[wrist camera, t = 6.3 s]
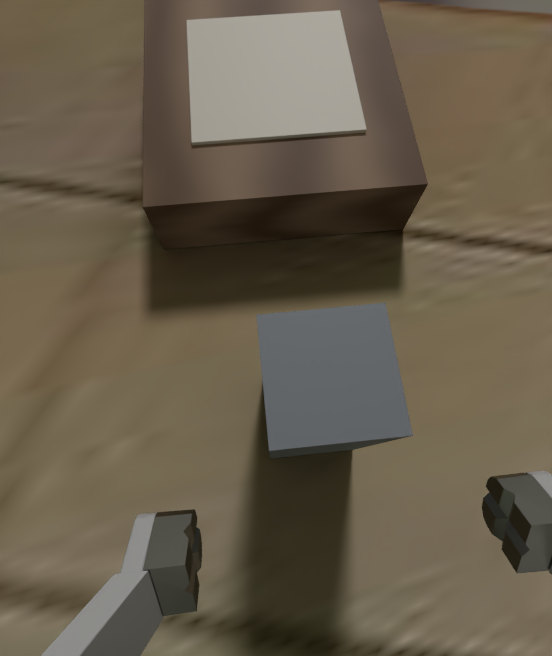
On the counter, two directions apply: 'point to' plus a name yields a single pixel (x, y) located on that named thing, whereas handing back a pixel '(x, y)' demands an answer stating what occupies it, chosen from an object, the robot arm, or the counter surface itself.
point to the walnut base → (273, 122)
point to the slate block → (330, 380)
